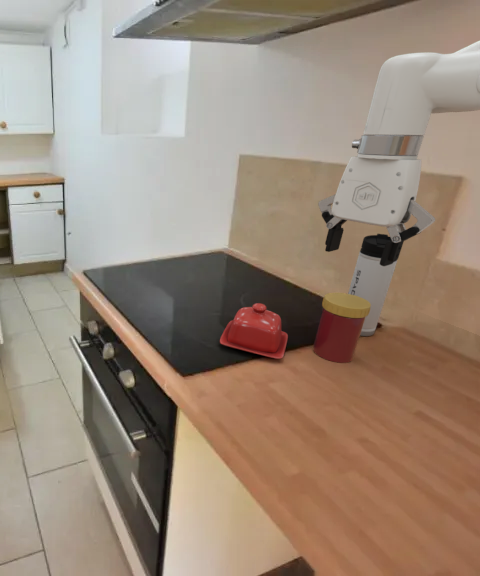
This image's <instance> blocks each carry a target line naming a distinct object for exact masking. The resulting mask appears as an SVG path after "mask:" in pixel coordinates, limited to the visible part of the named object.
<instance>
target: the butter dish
mask: <svg viewBox="0 0 480 576" xmlns="http://www.w3.org/2000/svg"><path fill="white" fill-rule="evenodd" d="M288 338H289V335H288V333H287V332H285V331H282V319H281V315H279V314H277V312H276V313H275V312H273V311H271V310H268V309H267V306H266V305H265V304H264V303H260V302H258V303H257V302H256V303H254V304H252V306H245V307H241V308H239V309H238V311H236V313H235V315H234V317H233V320H230V321H229V322H228V323H227V325H226V327H225V328H224V330H223V332H222V334H221V336H220V339H219V344H221V345H222V346H225V347H229V348H232V349H236V350H240V351H243V352H247V353H251V354H256V355H258V356H263V357H268V358H272V359H275V360H276V359H277V360H281V359H283V358H284V355H285V353H286V347H287V343H288Z"/></svg>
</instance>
